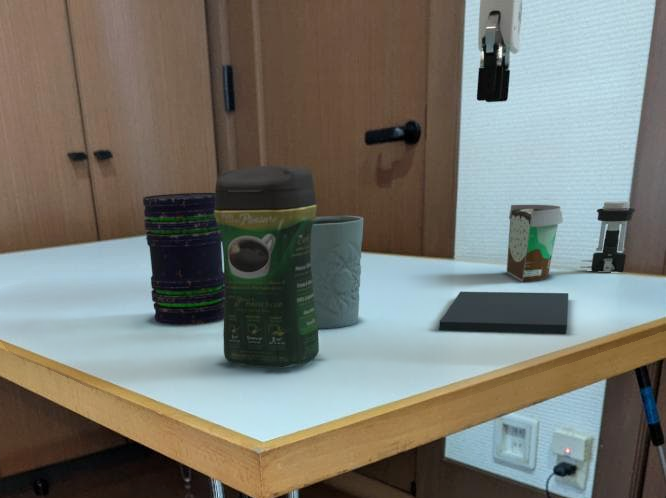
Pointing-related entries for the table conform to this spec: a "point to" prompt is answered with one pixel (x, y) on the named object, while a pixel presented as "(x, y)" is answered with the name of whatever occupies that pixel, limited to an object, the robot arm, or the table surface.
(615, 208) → the black and grey device
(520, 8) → the robot arm
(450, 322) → the mat
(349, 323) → the grey embossed cup
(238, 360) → the coffee jar
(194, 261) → the storage jar
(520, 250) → the food container
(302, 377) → the table surface
